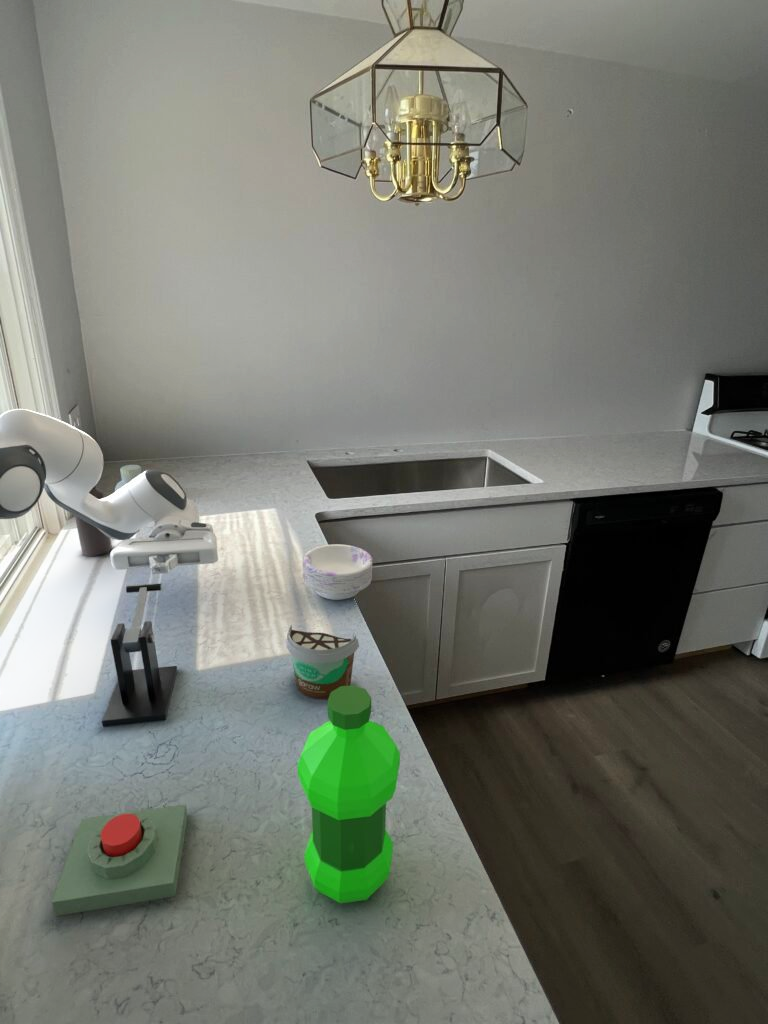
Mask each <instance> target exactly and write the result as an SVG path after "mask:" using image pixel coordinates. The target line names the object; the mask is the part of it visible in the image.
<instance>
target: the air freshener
mask: <svg viewBox="0 0 768 1024" xmlns="http://www.w3.org/2000/svg"><path fill="white" fill-rule="evenodd" d="M119 472H120V478H121V480H120V481H118V482H117V484H116V485H115V487H114V493H115V492H116V491H118V490H119V489H120V488H122V487H123V486H125V485H126V484H128V483H129V482H130V481H131V480H133V479H134V478H136V477H137V476H139V475H140V474H142V473H143V471H142V466H140V465H139V464H127V465H126V464H125V465H123V466H121V467H120V468H119Z"/></svg>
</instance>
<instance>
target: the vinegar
mask: <svg viewBox="0 0 768 1024" xmlns="http://www.w3.org/2000/svg"><path fill="white" fill-rule="evenodd" d="M89 493H90V494H91V495H93V496H94V497H96V498H97V499H103V498H104V493H103V491H102V490H101V489H99V488H98V487H96V485H95V486H94V487H93V488H92V489H91V491H90V492H89ZM74 518H75V524H76V529H77V534H78V539H79V545H80V550H81V554H83V555H84V556H87V557H98V556H103V555H105V554H107V553H109V552H111V551H112V550H113V544H112V538H109V537H107V536H106V535H104V534H103V533H102V532H101V531H100V530H98V529H97V528H96V527H95V526H93V525H91V524H89V523H88V522H86V521H84V520H82V519H80V518H79V517H77V516H75V515H74Z"/></svg>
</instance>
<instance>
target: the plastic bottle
mask: <svg viewBox="0 0 768 1024" xmlns="http://www.w3.org/2000/svg"><path fill="white" fill-rule="evenodd" d="M326 705H327V718H328V719H329V720H328V721H326V722H324V723H323V724H321V725H320V726H318V727H317V728H315V729H313V730H312V731H311V732H309V734H308V736H307V739H306V740H305V744H304V746H303V748H302V752H301V754H300V756H299V758H298V762H297V764H296V766H297V776H298V779H299V782H300V785H301V787H302V789H303V791H304V793H305V796H306V798H307V800H308V803H309V805H310V807H311V821H312V831H311V832H310V836H309V839H308V842H307V846H306V849H305V851H304V863H305V866H306V868H307V871H308V873H309V876H310V878H311V882H312V884H313V886H314V888H315V889H316V891H317V892H319V893H320V894H323V895H324V896H326V897H327V898H330V899H331V900H333V901H335V902H337V903H338V904H347V903H353V902H360V901H367V900H368V899H369V898H370V897H371V896H372V895H373V894H374V893H375V892H376V891H377V890H378V889H379V888H380V887H382V885H383V884H384V883H385V882H387V880H388V879H389V877H390V871H391V865H392V858H393V852H394V842H393V840H392V838H391V836H390V835H389V833H388V831H387V829H386V820H387V819H386V818H387V803H388V802H389V801H390V800H391V799H393V798H394V794H395V793H396V792H395V791H396V789H397V781H398V776H399V770H400V763H401V752H400V750H399V748H398V746H397V744H396V742H395V741H394V740H393V738H392V737H391V735H390V734H389V732H388V731H387V729H386V727H384V725H382V724H379V723H377V722H375V721H372V720H370V718H371V715H372V695H370V693H369V692H368V690H367V689H366V688H364V687H360V686H357V685H356V684H355V685H354V684H352V685H351V684H350V686H341V687H339V688H337V689H336V690H334V691H332V692H331V693H330V696H329V698H328V699H327V704H326Z"/></svg>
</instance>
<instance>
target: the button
mask: <svg viewBox="0 0 768 1024" xmlns="http://www.w3.org/2000/svg"><path fill="white" fill-rule="evenodd" d="M141 837H142V831H141V826H140V821H139V819H138V817H137V816H135V815H133V814H122V815H119V816H116V817H114V818H113V819H111V820H110V821H109V822H108V823H107V824H106V825H105V826H104V828H103V830H102V832H101V841H102V845H103V849H104V851H105V853H106V854H107V855H109V856H113V857H118V856H122V855H125V854H127V853H129V852H131V851H132V850H133V849H134V848H135V847H136V846H137V845H138V844H139V842H140V840H141Z"/></svg>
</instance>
